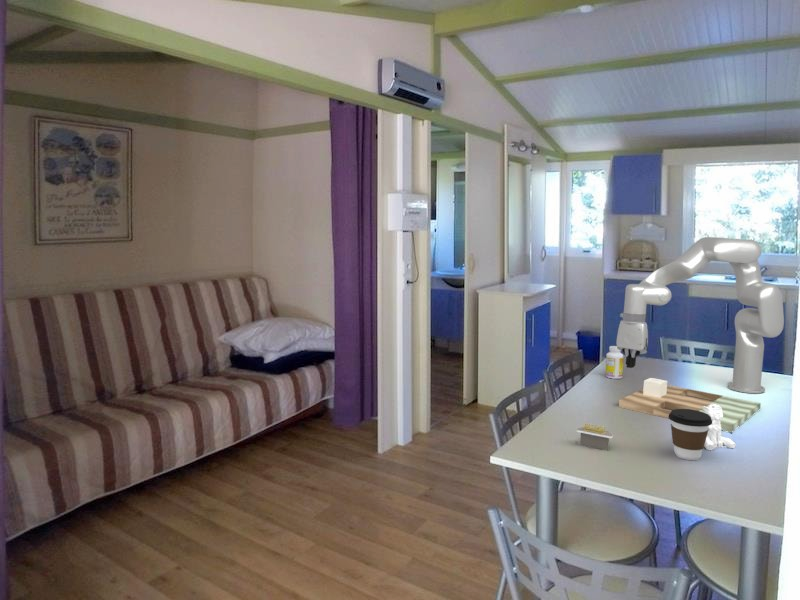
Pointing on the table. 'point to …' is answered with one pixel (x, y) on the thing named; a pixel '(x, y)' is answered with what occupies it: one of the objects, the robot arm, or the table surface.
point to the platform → (594, 437)
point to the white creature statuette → (716, 429)
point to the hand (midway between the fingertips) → (630, 367)
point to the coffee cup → (689, 432)
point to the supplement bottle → (614, 363)
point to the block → (655, 387)
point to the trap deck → (692, 405)
